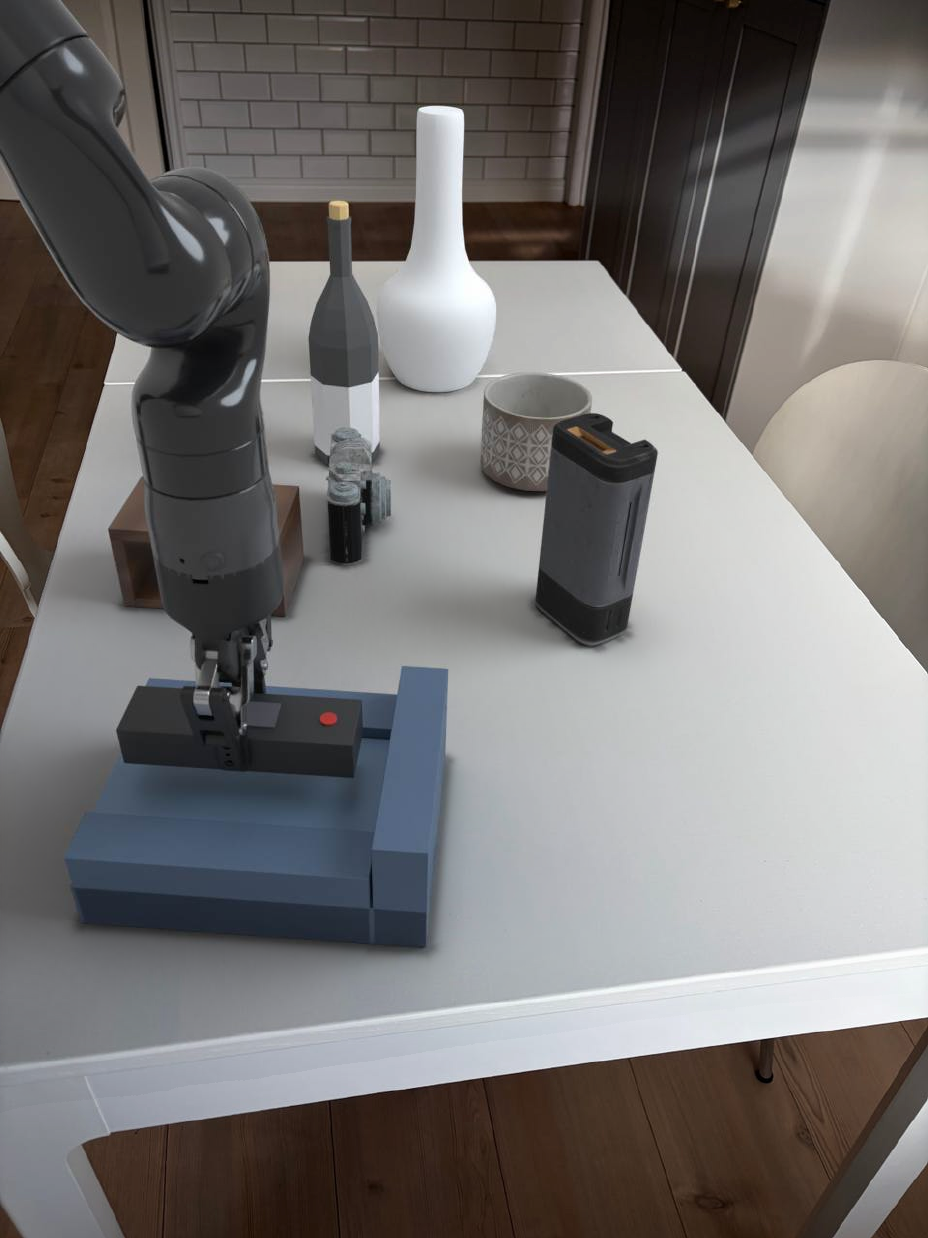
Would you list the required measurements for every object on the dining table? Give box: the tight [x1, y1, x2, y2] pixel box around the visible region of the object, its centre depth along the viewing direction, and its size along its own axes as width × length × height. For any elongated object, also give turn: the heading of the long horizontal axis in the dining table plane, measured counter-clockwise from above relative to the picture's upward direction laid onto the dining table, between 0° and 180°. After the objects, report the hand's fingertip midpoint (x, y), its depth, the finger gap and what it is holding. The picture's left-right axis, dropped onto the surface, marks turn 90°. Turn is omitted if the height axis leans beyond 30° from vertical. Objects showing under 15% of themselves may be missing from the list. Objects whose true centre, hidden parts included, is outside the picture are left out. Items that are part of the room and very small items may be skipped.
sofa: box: [63, 665, 449, 948], centre depth 72 cm, size 24×18×10 cm
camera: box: [325, 427, 392, 566], centre depth 107 cm, size 15×7×10 cm, turn 4°
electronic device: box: [534, 412, 659, 647], centre depth 93 cm, size 9×6×20 cm, turn 34°
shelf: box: [107, 475, 305, 617], centre depth 98 cm, size 16×10×9 cm, turn 87°
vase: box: [376, 105, 497, 393], centre depth 133 cm, size 17×17×35 cm
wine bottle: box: [307, 200, 381, 467], centre depth 115 cm, size 8×8×30 cm
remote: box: [115, 685, 363, 778], centre depth 69 cm, size 16×5×3 cm, turn 87°
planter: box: [479, 371, 593, 492], centre depth 119 cm, size 13×13×10 cm
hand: (244, 740), depth 70 cm, fingers closed on remote, 4 cm apart
